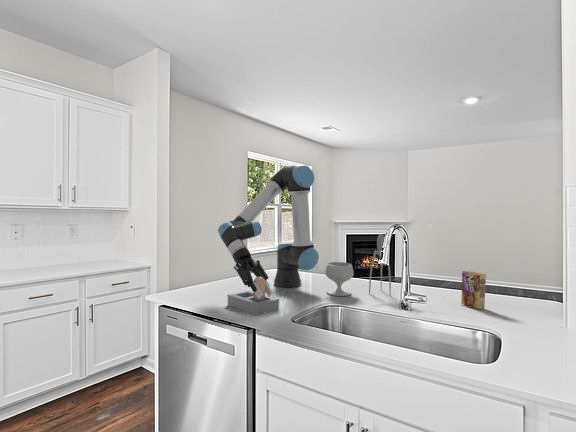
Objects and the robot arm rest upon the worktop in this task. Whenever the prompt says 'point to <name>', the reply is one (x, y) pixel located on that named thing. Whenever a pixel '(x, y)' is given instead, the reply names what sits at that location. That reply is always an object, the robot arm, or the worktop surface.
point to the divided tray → (253, 303)
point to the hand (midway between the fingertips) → (265, 295)
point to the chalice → (339, 276)
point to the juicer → (379, 246)
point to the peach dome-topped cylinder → (261, 284)
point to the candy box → (473, 289)
